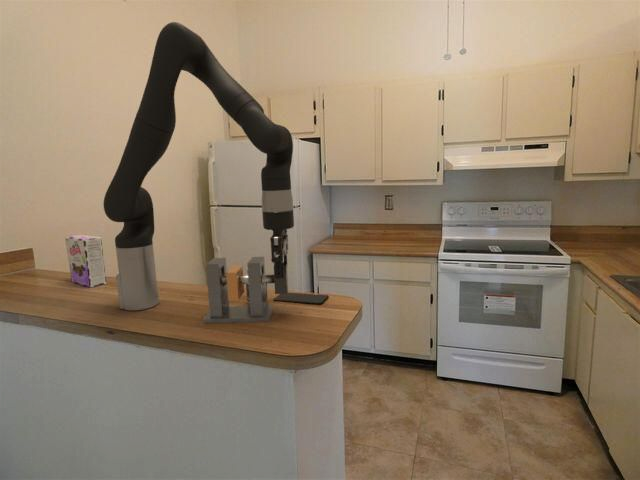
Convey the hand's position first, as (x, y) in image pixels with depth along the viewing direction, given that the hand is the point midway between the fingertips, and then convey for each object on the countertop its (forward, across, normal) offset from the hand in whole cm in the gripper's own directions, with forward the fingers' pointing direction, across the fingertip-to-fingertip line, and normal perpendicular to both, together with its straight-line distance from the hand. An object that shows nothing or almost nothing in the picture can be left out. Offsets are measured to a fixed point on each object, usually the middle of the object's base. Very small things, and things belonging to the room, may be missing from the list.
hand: (281, 273), depth 96 cm
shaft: (+5, 0, -8) cm, 9 cm away
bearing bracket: (+11, 0, -11) cm, 16 cm away
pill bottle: (+11, -10, -8) cm, 17 cm away
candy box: (+10, -35, -71) cm, 80 cm away
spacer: (+2, 0, -12) cm, 12 cm away
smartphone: (+11, -12, +4) cm, 17 cm away
